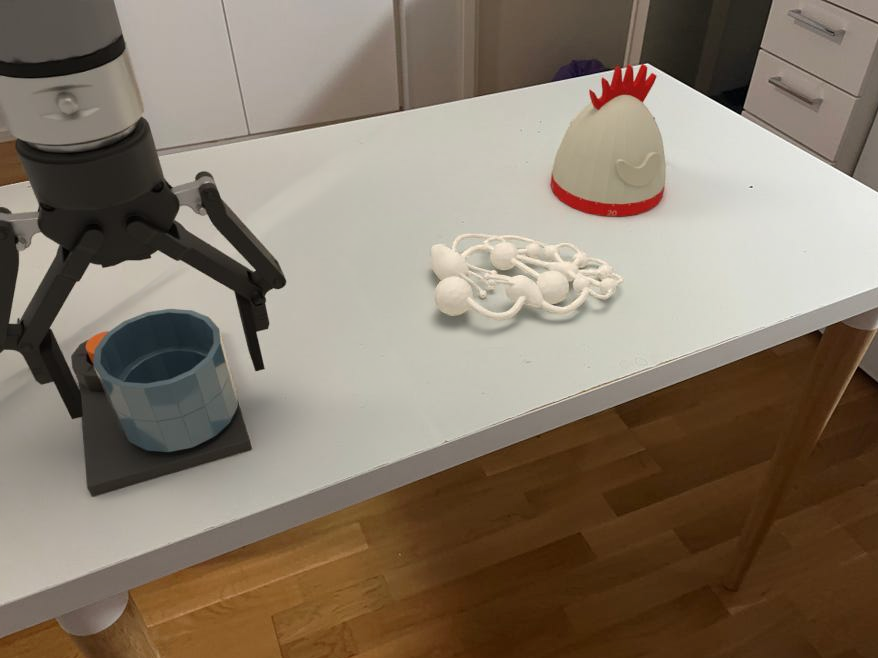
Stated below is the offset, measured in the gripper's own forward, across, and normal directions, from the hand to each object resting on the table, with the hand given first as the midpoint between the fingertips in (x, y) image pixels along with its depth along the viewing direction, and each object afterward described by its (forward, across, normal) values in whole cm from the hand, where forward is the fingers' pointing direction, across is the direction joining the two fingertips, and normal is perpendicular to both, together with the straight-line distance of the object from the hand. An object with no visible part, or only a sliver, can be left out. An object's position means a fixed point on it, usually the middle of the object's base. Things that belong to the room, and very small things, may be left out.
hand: (170, 382), depth 59 cm
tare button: (+2, -4, +8) cm, 9 cm away
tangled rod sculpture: (+5, +34, +7) cm, 35 cm away
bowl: (+4, 0, 0) cm, 4 cm away
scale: (+5, -1, +3) cm, 6 cm away
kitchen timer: (+5, +54, +21) cm, 58 cm away
